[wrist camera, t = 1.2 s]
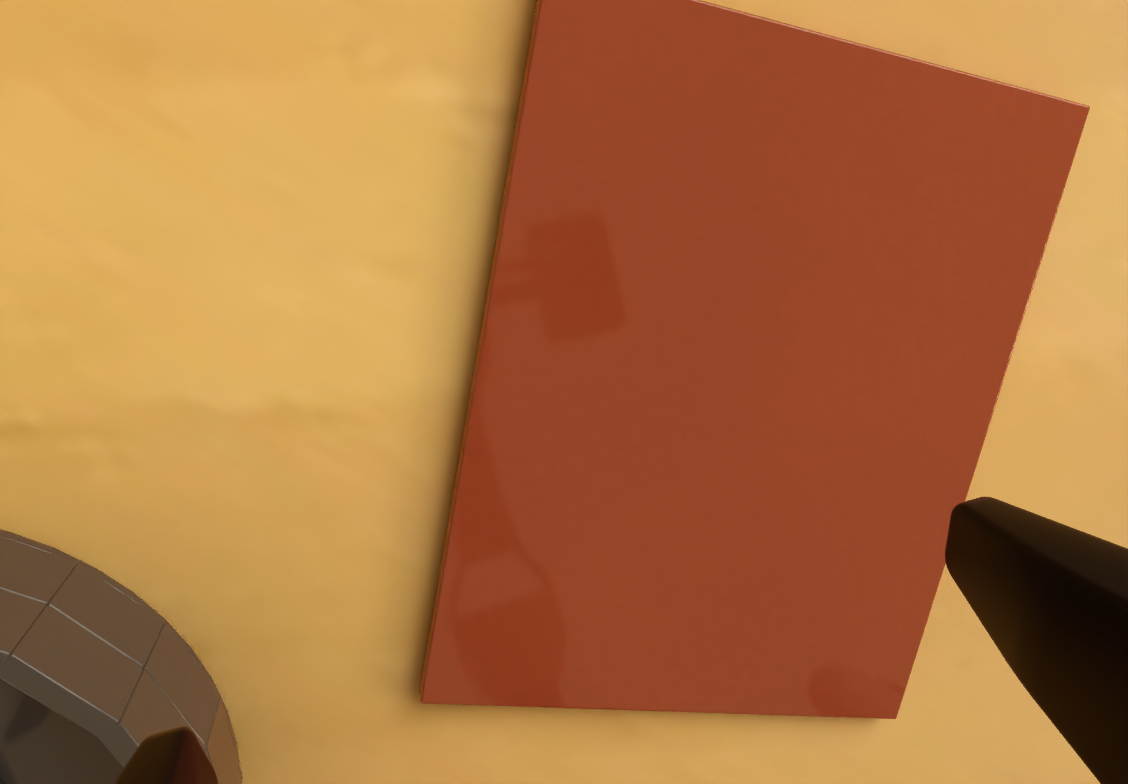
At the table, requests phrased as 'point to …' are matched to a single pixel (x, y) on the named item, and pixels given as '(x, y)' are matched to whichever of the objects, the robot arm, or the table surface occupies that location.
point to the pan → (92, 674)
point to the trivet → (733, 363)
